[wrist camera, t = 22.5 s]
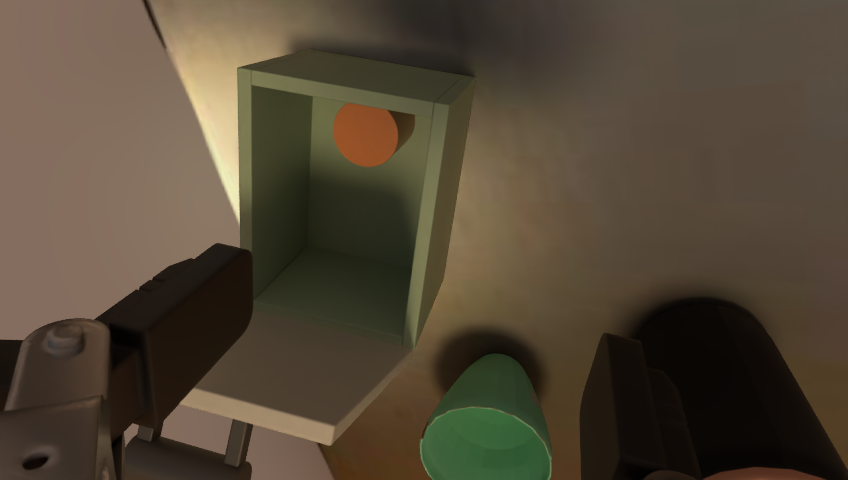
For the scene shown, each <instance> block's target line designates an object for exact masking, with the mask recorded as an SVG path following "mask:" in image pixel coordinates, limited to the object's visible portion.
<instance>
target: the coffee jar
mask: <svg viewBox="0 0 848 480" xmlns="http://www.w3.org/2000/svg"><path fill="white" fill-rule="evenodd" d="M635 340H639V341H641V343H642V346H643V351H644V355H645V360H646V365H647V367H650V368H654V369H658V370H663V371H664V372H665V374H666V375H667V376H668V377H669V379H670V380H671V381H672V382H673V384H674V385H675V386H676V387H677V389H678V391H679V394H680V398H681V402H682V405H683V412H684V413H685V416H686V420H687V428H689V431H690V435H691V438H692V442H693V445H694V449H695V453H696V456H697V460H698V464H699V467H700V471H701V475H702V478H703V480H848V470H847V468H846V466H845V465H844V463H843V461H842V459H841V458H840V456H839V454H838V453H837V451H836V449H835V447H834V446H833V444H832V442H831V440H830V439H829V437H828V435H827V433H826V432H825V430H824V428H823V427H822V425H821V423H820V421H819V420H818V418H817V416H816V414H815V413H814V411H813V409H812V407H811V406H810V404H809V402H808V401H807V399H806V397H805V395H804V394H803V392H802V390H801V388H800V387H799V385H798V383H797V381H796V380H795V378H794V376H793V375H792V373H791V371H790V369H789V368H788V366H787V364H786V362H785V361H784V359H783V357H782V355H781V354H780V352H779V350H778V349H777V347H776V345H775V343H774V342H773V340H772V338H771V337H770V336H769V335H768V334H767V332H766V331H765V330H764V329H763V327H762V326H761V325H760V324H759V323H758V322H756V321H754V320H753V319H751V318H749V317H748V316H746V315H744V314H743V313H741V312H739V311H737V310H733V309H729V308H725V307H722V306H718V305H688V306H684V307H680V308H676V309H672V310H669V311H667V312H665V313H664V314H662V315H660V316H658V317H657V318H655V319H653V320H651V321H650V322H649V323H648V324H647V325H646V326H645V328H644V329H643V330H642V331H641V332H640V333H639V334H638V335H637V336H636V339H635Z"/></svg>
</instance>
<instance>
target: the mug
mask: <svg viewBox="0 0 848 480" xmlns="http://www.w3.org/2000/svg"><path fill="white" fill-rule="evenodd" d="M419 445H420V456H421V461H422V463H423V465H424V467H425V469H426V471H427V473H428V475H429V476H430V477H431V478H432V480H550V478H551V476H552V447H551V443H550V438H549V434H548V429H547V425H546V422H545V418H544V415H543V412H542V409H541V406H540V404H539V401H538V398H537V396H536V393H535V391H534V388H533V386H532V383H531V381H530V379H529V378H528V376H527V374H526V372H525V371H524V369H523V367H522V366H521V365H520V364H519V362H518V361H516V360H515V359H513V358H512V357H510V356H507V355H504V354H495V353H493V354H488V355H485V356H483V357H481V358H479V359H478V360H477V361H476V362H474V363H473V364H472V365H471V366H470V367H468V368H467V369H466V370H465V372H464V373H463V374H462V375H461V376H460V377H459V378H458V379H457V380H456V382H455V383H454V384H453V385H452V387H451V388H450V389H449V390H448V391H447V393H446V394H445V396H444V397H443V399H442V400H441V402H440V403H439V404H438V406H437V408H436V409H435V411H434V412H433V414H432V415H431V417H430V418H429V420H428V422H427V424H426V426H425V428H424V431H423V434H422V437H421V440H420V444H419Z"/></svg>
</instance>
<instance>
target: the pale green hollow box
mask: <svg viewBox="0 0 848 480" xmlns="http://www.w3.org/2000/svg"><path fill="white" fill-rule="evenodd" d="M237 76H238V136H239V196H240V248H242V249H247V250H249V251H250V252H251V254H252V257H253V310H255V311H259V312H264V313H268V314H272V315H276V316H280V317H284V318H288V319H292V320H296V321H300V322H304V323H308V324H312V325H317V326H321V327H325V328H329V329H333V330H337V331H341V332H345V333H349V334H353V335H357V336H361V337H365V338H370V339H374V340H378V341H382V342H386V343H390V344H394V345H398V346H402V347H406V348H410V349H413V350H414V349H415V347H416V344H417V342H418V339H419V337H420V335H421V332H422V330H423V327H424V325H425V322H426V320H427V318H428V315H429V313H430V310H431V308H432V306H433V303H434V301H435V298H436V296H437V294H438V291H439V289H440V286H441V284H442V282H443V278H444V272H445V266H446V260H447V254H448V248H449V241H450V235H451V229H452V223H453V217H454V211H455V205H456V198H457V192H458V186H459V180H460V174H461V168H462V162H463V155H464V149H465V143H466V137H467V131H468V125H469V119H470V112H471V106H472V100H473V94H474V88H475V82H476V77H470V76H465V75H459V74H453V73H447V72H441V71H435V70H429V69H423V68H417V67H411V66H405V65H400V64H394V63H388V62H382V61H376V60H370V59H364V58H358V57H352V56H346V55H340V54H335V53H329V52H323V51H317V50H311V49H307V50H304V51H300V52H296V53H292V54H289V55H285V56H281V57H277V58H273V59H269V60H265V61H261V62H258V63H254V64H250V65H246V66H242V67H238V68H237ZM347 103H352V104H358V105H363V106H369V107H374V108H380V109H385V110H391V111H396V112H402V113H407V114H413V115H415V127H414V130H413V133H412V135H411V137H410V138H409V139H408V141H407V142H406V143H405V144H404V145H403V146H402V147H401V148H400V149H399V150H398V151H397V152H396V153H395V154H394V155H393V156H392V157H391V158H390V159H388V160H387V161H386V162H384V163H383V164H381V165H378V166H373V167H364V166H360V165H357V164H354V163H353V162H351V161H349V160H348V159H347V158H346V157H345V156H344V155H343V154H342V153H341V152H340V150H339V149H338V147H337V145H336V143H335V140H334V135H333V124H334V120H335V117H336V115H337V113H338V112H339V110H340V109H341V108H342V107H343V106H344V105H346V104H347Z"/></svg>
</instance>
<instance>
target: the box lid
mask: <svg viewBox="0 0 848 480" xmlns="http://www.w3.org/2000/svg"><path fill="white" fill-rule="evenodd" d="M412 353H413V349H410V348H406V347H402V346H398V345H394V344H390V343H386V342H382V341H378V340H374V339H370V338H365V337H361V336H357V335H353V334H349V333H345V332H341V331H337V330H333V329H329V328H325V327H321V326H317V325H312V324H308V323H304V322H300V321H296V320H292V319H288V318H284V317H280V316H276V315H272V314H268V313H264V312H259V311H255V310H253V313H252V317H251V320H250V323H249V325H248V327H247V329H246V331H245V332H244V334H243V335H242V336H241V337H240V338H239V339H238V340H237V341H236V342H235V344H234V345H233V346H232V347H231V348H230V349H229V350H228V351H227V352H226V353H225V354H224V355H223V357H222V358H221V359H220V360H219V361H218V362H217V363H216V364H215V365H214V366H213V367H212V369H211V370H210V371H209V372H208V373H207V374H206V375H205V376H204V377H203V378H202V379H201V381H200V382H199V383H198V384H197V385H196V386H195V387H194V388H193V389H192V390H191V391H190V392H189V394H188V395H187V396H186V397H185V398H184V399H183V400H182V401H181V402H180V403H179V404H182V405H185V406H189V407H193V408H196V409H200V410H203V411H207V412H211V413H214V414H218V415H222V416H225V417H228V418H232V419H233V422H232V426H231V431H230V435H229V440H228V445H227V449H226V454H225V455H223V454H219V453H216V452H212V451H209V450H205V449H202V448H199V447H195V446H192V445H188V444H185V443H181V442H177V441H174V440H171V439H167V438H164V437H160V435H161V431H162V426H163V422H164V421H163V422H162V423H161V424H160V425H159V426H158V427H157V428H156V429H151V428H148V427H144V426H141V425H139V429H138V433H137V435H136V436H134V437H133V438H132V439H131V440H130V442H129V443H128V444H127V446H126V447H125V480H250V479H251V473H252V467H251V464H250V463H249V462H247V461H245V460H246V456H247V451H248V446H249V442H250V437H251V432H252V428H253V424H254V425H257V426H261V427H265V428H268V429H272V430H276V431H279V432H283V433H286V434H290V435H293V436H297V437H301V438H304V439H308V440H312V441H315V442H319V443H322V444H326V445H332V444H333V443H334V442H335V440H336V439H337V438H338V437H339V436H340V435H341V434H342V433H343V432H344V431H345V430H346V429H347V428H348V427H349V426H350V424H351V423H352V422H353V421H354V420H355V419H356V418H357V417H358V416H359V415H360V414H361V413H362V412H363V411H364V410H365V408H366V407H367V406H368V405H369V404H370V403H371V402H372V401H373V400H374V399H375V398H376V397H377V396H378V395H379V394H380V392H381V391H382V390H383V389H384V388H385V387H386V386H387V385H388V384H389V383H390V382H391V381H392V380H393V379H394V378H395V376H396V375H397V374H398V373H399V372H400V371H401V370H402V369H403V368H404V367H405V366H406V365H407V364H408V363H409V361H410V360H411V358H412Z"/></svg>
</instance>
